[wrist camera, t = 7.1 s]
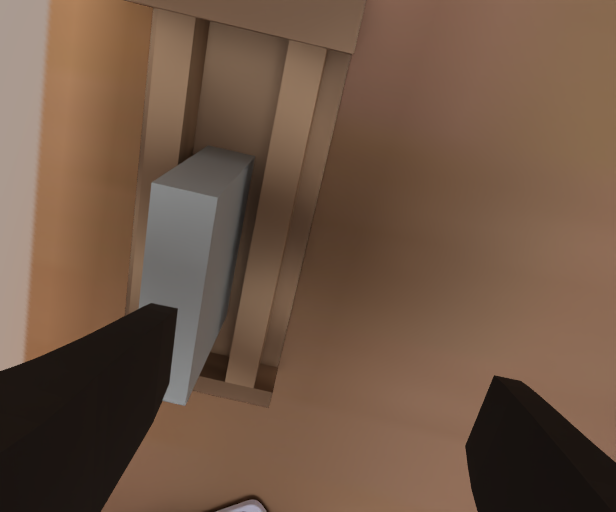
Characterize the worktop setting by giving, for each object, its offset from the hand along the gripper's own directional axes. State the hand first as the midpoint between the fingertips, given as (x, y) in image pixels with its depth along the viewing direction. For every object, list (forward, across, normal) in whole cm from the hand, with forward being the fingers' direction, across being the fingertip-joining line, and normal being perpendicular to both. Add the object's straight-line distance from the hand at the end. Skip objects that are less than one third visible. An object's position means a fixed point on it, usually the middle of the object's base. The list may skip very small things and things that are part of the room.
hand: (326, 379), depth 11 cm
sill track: (+10, +4, -1) cm, 11 cm away
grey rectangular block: (+9, +5, +1) cm, 11 cm away
